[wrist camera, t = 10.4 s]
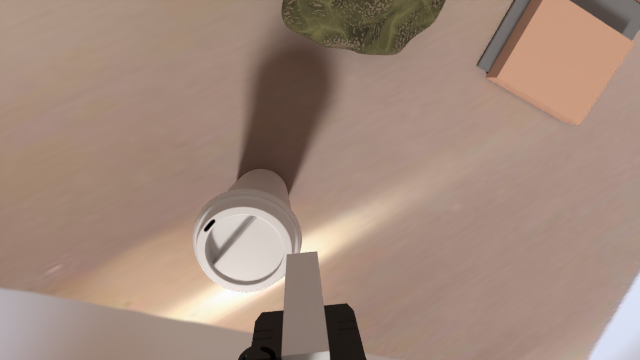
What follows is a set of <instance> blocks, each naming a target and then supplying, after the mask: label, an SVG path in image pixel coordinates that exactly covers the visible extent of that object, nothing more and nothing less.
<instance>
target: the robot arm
mask: <svg viewBox="0 0 640 360" xmlns="http://www.w3.org/2000/svg"><path fill="white" fill-rule="evenodd" d="M238 360H366V357H365V354H364V350H363V346H362V342H361V338H360V334H359V330H358V326H357V322H356V318H355V314H354V311H353V309H352V308H351V307H350V306H349V305H348V304H347V303H346V304H336V305H326V306H324V303H323V295H322V287H321V279H320V271H319V263H318V255H317V252H307V253H295V254H287V256H286V275H285V295H284V310H283V311H273V312H263V313H261V314H260V316H259V317H258V319H257V320H256V321H255V327H254V333H253V341H252V345H251V347H249V348H248V349H246V350H245V351H244V352H243V353H242V354H241V355H240V357H239V359H238Z"/></svg>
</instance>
